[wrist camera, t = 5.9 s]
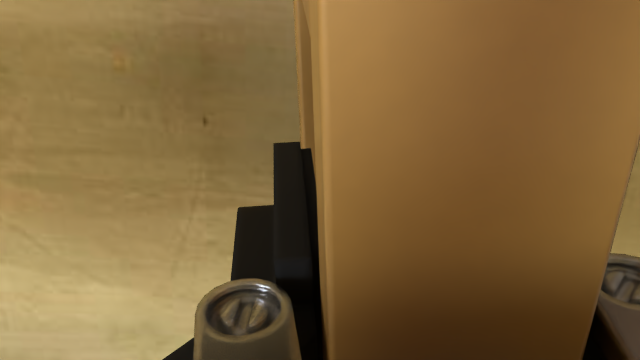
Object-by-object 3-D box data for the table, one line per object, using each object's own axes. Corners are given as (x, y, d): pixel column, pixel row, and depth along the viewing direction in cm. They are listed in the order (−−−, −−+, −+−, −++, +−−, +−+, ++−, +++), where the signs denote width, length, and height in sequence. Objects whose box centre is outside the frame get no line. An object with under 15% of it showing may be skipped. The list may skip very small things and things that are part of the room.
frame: (428, -131, 12) (712, -120, 4) (405, 305, 18) (509, 649, 10) (286, -126, 12) (314, -105, 4) (309, 313, 18) (339, 666, 10)
